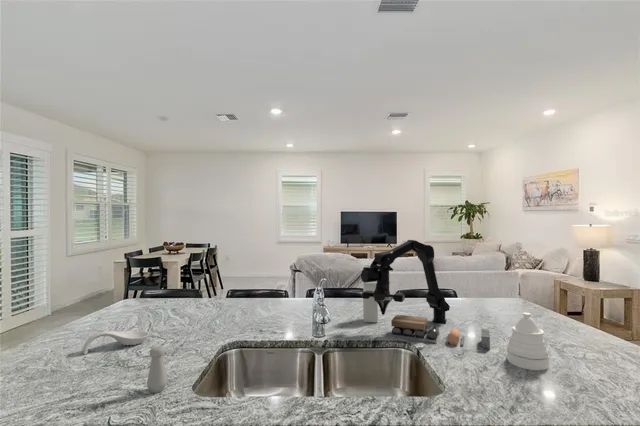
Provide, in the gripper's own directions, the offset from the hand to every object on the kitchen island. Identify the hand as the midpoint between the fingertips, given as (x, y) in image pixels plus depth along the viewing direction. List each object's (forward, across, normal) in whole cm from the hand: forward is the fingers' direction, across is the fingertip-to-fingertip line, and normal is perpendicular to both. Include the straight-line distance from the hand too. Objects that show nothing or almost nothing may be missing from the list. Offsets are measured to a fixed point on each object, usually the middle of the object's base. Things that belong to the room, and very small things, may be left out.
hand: (383, 314), depth 159 cm
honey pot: (+8, +56, -12) cm, 58 cm away
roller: (+8, +31, 0) cm, 32 cm away
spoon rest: (+8, -96, -62) cm, 114 cm away
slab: (+3, +12, 0) cm, 12 cm away
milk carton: (+8, -10, +14) cm, 19 cm away
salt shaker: (+8, -50, -81) cm, 96 cm away
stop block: (+8, +42, 0) cm, 43 cm away
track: (+8, +20, 0) cm, 21 cm away
